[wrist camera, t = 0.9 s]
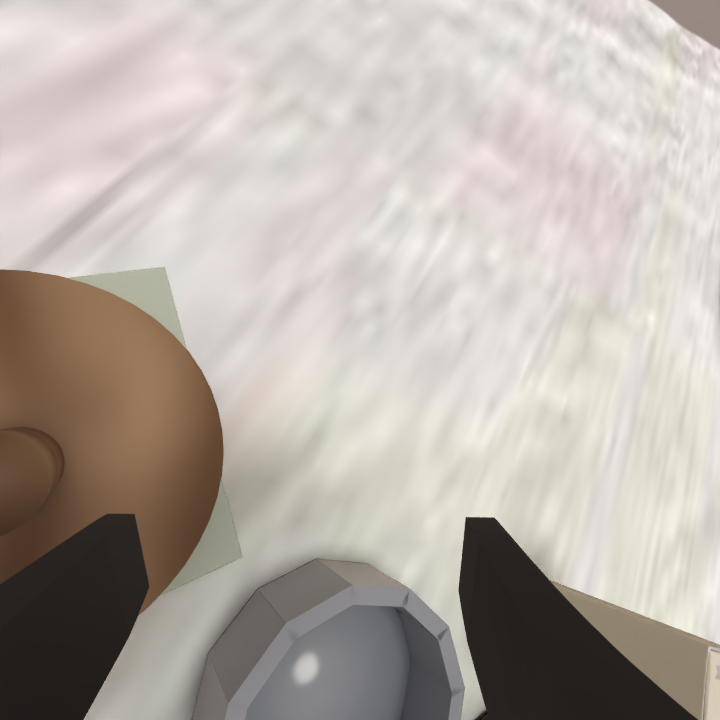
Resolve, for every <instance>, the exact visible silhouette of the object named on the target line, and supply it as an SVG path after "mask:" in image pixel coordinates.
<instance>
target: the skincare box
mask: <svg viewBox="0 0 720 720" xmlns="http://www.w3.org/2000/svg"><path fill="white" fill-rule="evenodd" d="M550 581H551V580H550ZM551 582H552V584H553V585H554V586H555V587H556V588H557V589H558V590H559V591H560V592H561V593H562V594H563V595H564V596H565V597H566V599H567V600H568V601H569V602H570V603H571V604H572V605H573V606H574V607H575V608H576V609H577V610H578V611H579V612H580V613H581V614H582V615H583V616H584V617H585V618H586V619H587V620H588V621H589V622H590V623H591V624H592V625H593V626H594V627H595V628H596V629H597V630H598V631H599V632H600V633H601V634H602V635H603V636H604V637H605V638H606V639H607V640H608V641H609V642H610V643H611V644H612V645H613V646H614V647H615V648H616V649H617V650H618V651H620V652H621V653H622V654H623V655H624V656H625V657H626V658H627V659H628V660H629V661H630V662H631V663H633V664H634V665H635V666H636V667H637V668H638V669H639V670H640V671H642V672H643V673H644V674H645V675H646V676H647V677H648V678H650V679H651V680H652V681H653V682H654V683H655V684H657V685H658V686H659V687H660V688H661V689H662V690H663V691H665V692H666V693H667V694H668V695H669V696H670V697H671V698H673V699H674V700H675V701H676V702H677V703H678V704H680V705H681V706H682V707H683V708H684V709H686V710H687V711H688V712H689V713H691V714H692V715H693V716H694V717H695V718H697V719H698V720H720V645H719V644H716V643H713V642H711V641H708V640H706V639H703V638H700V637H698V636H695V635H692V634H690V633H687V632H684V631H682V630H679V629H677V628H674V627H671V626H669V625H666V624H663V623H661V622H658V621H656V620H653V619H650V618H648V617H645V616H642V615H640V614H637V613H635V612H632V611H629V610H627V609H624V608H621V607H619V606H616V605H614V604H611V603H608V602H606V601H603V600H600V599H598V598H595V597H593V596H590V595H587V594H585V593H582V592H579V591H577V590H574V589H571V588H569V587H566V586H564V585H561V584H558V583H556V582H553V581H551Z"/></svg>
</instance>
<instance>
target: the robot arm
mask: <svg viewBox="0 0 720 720" xmlns="http://www.w3.org/2000/svg"><path fill="white" fill-rule="evenodd" d="M149 587H150V586H149V581H148V576H147V571H146V567H145V562H144V557H143V552H142V547H141V542H140V537H139V532H138V527H137V522H136V518H135V514H106V515H104V516H102V517H101V518H99V519H97V520H96V521H94V522H92V523H91V524H89V525H88V526H86V527H85V528H83V529H82V530H80V531H79V532H77V533H76V534H74V535H73V536H71V537H70V538H68V539H67V540H65V541H64V542H62V543H61V544H59V545H58V546H56V547H55V548H53V549H52V550H51V551H49V552H48V553H46V554H45V555H43V556H42V557H40V558H39V559H37V560H36V561H34V562H33V563H31V564H30V565H28V566H27V567H25V568H24V569H22V570H21V571H19V572H18V573H16V574H15V575H13V576H12V577H10V578H9V579H7V580H6V581H4V582H3V583H1V584H0V720H83V719H84V717H85V716H86V714H87V712H88V710H89V708H90V707H91V705H92V703H93V701H94V699H95V698H96V696H97V694H98V692H99V690H100V689H101V687H102V685H103V683H104V681H105V680H106V678H107V676H108V674H109V672H110V671H111V669H112V667H113V665H114V663H115V661H116V660H117V658H118V656H119V654H120V652H121V650H122V649H123V647H124V645H125V643H126V641H127V639H128V637H129V635H130V633H131V631H132V628H133V626H134V624H135V621H136V619H137V617H138V614H139V612H140V609H141V607H142V604H143V602H144V599H145V597H146V594H147V592H148V589H149ZM459 596H460V602H461V608H462V614H463V620H464V626H465V631H466V637H467V642H468V646H469V649H470V653H471V657H472V660H473V664H474V667H475V671H476V675H477V678H478V682H479V685H480V689H481V692H482V696H483V699H484V703H485V707H486V710H487V714H488V717H489V720H698V719H697V718H695V717H694V716H693V715H692V714H691V713H689V712H688V711H687V710H686V709H684V708H683V707H682V706H681V705H680V704H678V703H677V702H676V701H675V700H674V699H673V698H671V697H670V696H669V695H668V694H667V693H666V692H665V691H663V690H662V689H661V688H660V687H659V686H658V685H657V684H655V683H654V682H653V681H652V680H651V679H650V678H648V677H647V676H646V675H645V674H644V673H643V672H642V671H640V670H639V669H638V668H637V667H636V666H635V665H634V664H633V663H631V662H630V661H629V660H628V659H627V658H626V657H625V656H624V655H623V654H622V653H621V652H620V651H618V650H617V649H616V648H615V647H614V646H613V645H612V644H611V643H610V642H609V641H608V640H607V639H606V638H605V637H604V636H603V635H602V634H601V633H600V632H599V631H598V630H597V629H596V628H595V627H594V626H593V625H592V624H591V623H590V622H589V621H588V620H587V619H586V618H585V617H584V616H583V615H582V614H581V613H580V612H579V611H578V610H577V609H576V608H575V607H574V606H573V605H572V604H571V603H570V602H569V601H568V600H567V599H566V597H565V596H564V595H563V594H562V593H561V592H560V591H559V590H558V589H557V588H556V587H555V586H554V585H553V584H552V582H551V581H550V580H549V579H548V578H547V577H546V576H545V575H544V574H543V573H542V572H541V570H540V569H539V568H538V567H537V566H536V565H535V564H534V563H533V561H532V560H531V559H530V558H529V557H528V556H527V555H526V553H525V552H524V551H523V550H522V549H521V548H520V547H519V545H518V544H517V543H516V542H515V541H514V540H513V538H512V537H511V536H510V535H509V534H508V533H507V531H506V530H505V529H504V528H503V527H502V526H501V524H500V523H499V522H498V521H497V520H496V519H495V518H480V517H466V521H465V531H464V541H463V551H462V561H461V571H460V581H459Z"/></svg>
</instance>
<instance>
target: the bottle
mask: <svg viewBox="0 0 720 720" xmlns="http://www.w3.org/2000/svg"><path fill="white" fill-rule="evenodd" d="M481 720H489V717H488V714H486V715H485V716H484V717H483V718H482V719H481Z"/></svg>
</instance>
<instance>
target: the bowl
mask: <svg viewBox="0 0 720 720" xmlns="http://www.w3.org/2000/svg"><path fill="white" fill-rule="evenodd" d="M464 690H465V687H464V683H463V679H462V675H461V671H460V667H459V664H458V660H457V656H456V652H455V648H454V644H453V640H452V636H451V632H450V629H449V626H448V625H447V624H446V623H445V622H444V621H443V620H442V619H441V618H440V617H439V616H438V615H437V614H436V613H434V612H433V611H432V610H431V609H430V608H429V607H428V606H427V605H426V604H425V603H424V602H423V601H422V600H421V599H420V598H419V597H418V596H417V595H416V594H415V593H414V592H413V591H412V590H411V589H409V588H408V587H406V586H404V585H403V584H401V583H399V582H398V581H396V580H394V579H393V578H391V577H389V576H387V575H386V574H384V573H382V572H381V571H379V570H377V569H376V568H374V567H372V566H371V565H369V564H366V563H355V562H344V561H333V560H323V559H315V560H313V561H311V562H309V563H307V564H305V565H303V566H301V567H299V568H298V569H296V570H294V571H292V572H290V573H288V574H286V575H284V576H282V577H280V578H278V579H276V580H274V581H272V582H270V583H268V584H266V585H265V586H263V587H261V588H259V589H257V591H256V592H255V593H254V594H253V596H252V597H251V598H250V600H249V601H248V602H247V603H246V605H245V606H244V607H243V609H242V610H241V611H240V613H239V614H238V615H237V616H236V618H235V619H234V620H233V622H232V623H231V624H230V625H229V627H228V628H227V629H226V631H225V632H224V633H223V635H222V636H221V637H220V638H219V640H218V641H217V642H216V644H215V645H214V646H213V648H212V649H211V650H210V651H209V653H208V657H207V661H206V665H205V669H204V673H203V676H202V680H201V684H200V688H199V692H198V696H197V700H196V704H195V708H194V712H193V716H192V720H461V713H462V705H463V697H464Z"/></svg>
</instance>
